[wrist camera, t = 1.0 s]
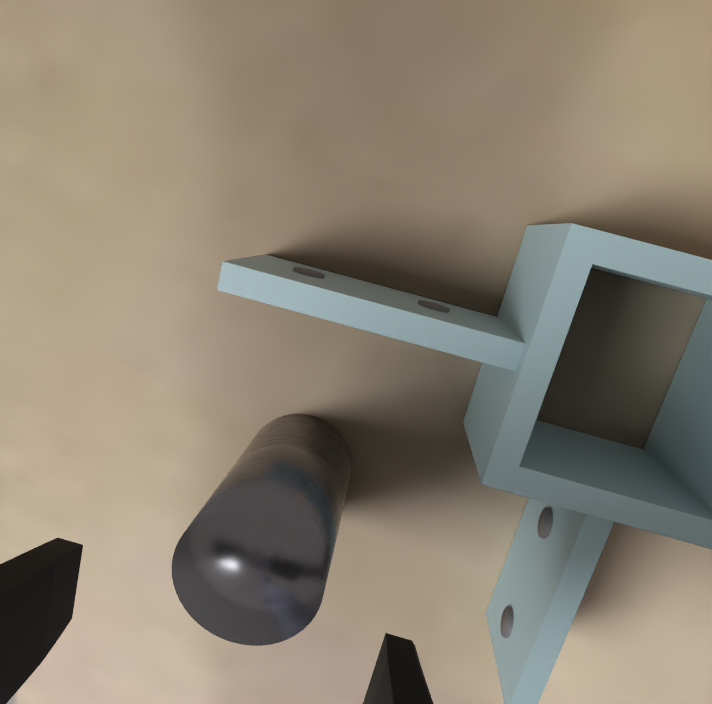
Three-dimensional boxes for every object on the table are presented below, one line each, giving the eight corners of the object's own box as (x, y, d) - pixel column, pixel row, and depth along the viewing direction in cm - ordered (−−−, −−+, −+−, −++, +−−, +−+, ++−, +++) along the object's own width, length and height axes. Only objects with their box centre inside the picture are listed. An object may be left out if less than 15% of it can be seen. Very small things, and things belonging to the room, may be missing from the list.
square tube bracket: (584, 641, 21) (637, 764, 16) (205, 532, 22) (147, 620, 17) (740, 281, 18) (866, 300, 13) (285, 161, 18) (240, 136, 13)
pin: (337, 523, 21) (304, 663, 14) (239, 495, 21) (160, 620, 14) (363, 430, 20) (341, 533, 13) (260, 402, 20) (186, 489, 13)
